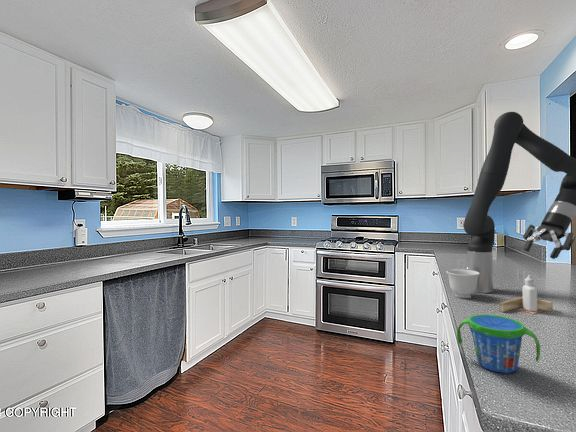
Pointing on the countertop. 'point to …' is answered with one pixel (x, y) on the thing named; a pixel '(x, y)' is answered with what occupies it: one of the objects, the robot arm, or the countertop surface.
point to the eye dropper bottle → (529, 295)
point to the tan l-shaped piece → (519, 303)
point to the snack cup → (497, 341)
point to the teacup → (463, 282)
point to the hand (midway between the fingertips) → (538, 254)
